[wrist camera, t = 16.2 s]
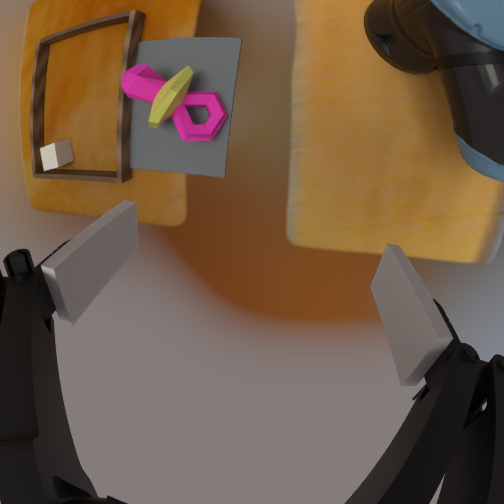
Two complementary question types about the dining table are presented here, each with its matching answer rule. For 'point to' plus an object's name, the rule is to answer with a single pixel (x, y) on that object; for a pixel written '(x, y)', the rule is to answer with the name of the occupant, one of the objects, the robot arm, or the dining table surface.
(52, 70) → the dining table surface
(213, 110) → the toy
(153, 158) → the mat
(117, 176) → the brown wooden frame
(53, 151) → the cream block
